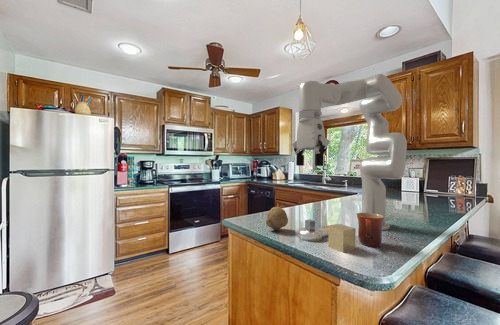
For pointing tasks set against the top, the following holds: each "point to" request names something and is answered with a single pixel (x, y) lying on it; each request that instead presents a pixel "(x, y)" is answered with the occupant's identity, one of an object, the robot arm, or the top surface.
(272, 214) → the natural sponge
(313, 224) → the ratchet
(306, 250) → the top surface
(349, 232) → the beige wooden block
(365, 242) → the mug
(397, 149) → the robot arm
